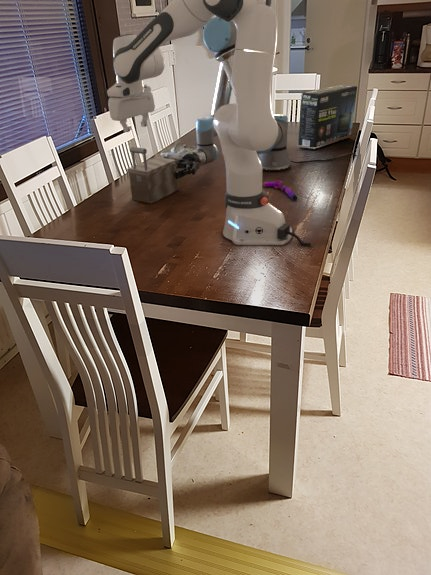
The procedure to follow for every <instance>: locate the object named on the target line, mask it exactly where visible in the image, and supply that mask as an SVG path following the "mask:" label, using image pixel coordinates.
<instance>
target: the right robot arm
mask: <svg viewBox="0 0 431 575" xmlns="http://www.w3.org/2000/svg"><path fill="white" fill-rule="evenodd" d="M236 37H237V29H236V26H235V24H234V23H233V22H232V21H229V22H226V21H225V20H223V19H221V18H219V17H217V16H215V17H214V16H213V17H212V18H211V20H210V21H209V22H208V23H207V24H206V25H205V26H204V27H203V31H202V39H203V40H202V41H203V43H204V46H205V47H206V48H207V50H209V51H211V52H212V53H213V56H214V59H215V61H217V62H219V64H218V71H217V76H216V80H215V81H216V82H215V88H214V93H213V99H212V105H211V110H210V116H209V117H207V116H206V117H199V118H197V119H196V120H195V135H196V148H197V149H196V150H193V151H191V152H189V153H186V154H184V155H183V157H182V159H179V160H176V158H174V159H172V160H176V179H177V180H179V179H181V178H183V177H185V176H188V175H189V176H190V175H192V176H194V175H195V176H196V173H197V171H198V170H199V169H200V167H202V166H205V165H207V164H209V163H212V162H214V161H215V160H216V159H218V157H219V150H218V147H217V146H216V145H215V142H214V138H216V137H217V136H218V134H217V132H216V130H215V128H214V125H213V119H214V115H215V113H216V111H217V110H218V109H219V108H220V107H221V106H223V105H227V104H231V103H230V102H231V99H232V98H231V97H232V93H234V96H235V97H236V95H235V90H234V87H233V85H232V82H231V75H232V67H233V59H234V52H235V50H238V49H235V44H236ZM273 116H274V118H275V120H276V122H277V125H278V136H277V139H276V141H275V143H274V144H273V145H272V146H271V147H270V148H269V149H267V150H264V151H256V152H257V155H258V158H259V160H260V161H261V164H262V168H263V169H262V172H270V173H271V172H272V173H275V172H276V173H277V172H284V171H287V170H289V169H290V168H291V163H290V162H293V161H294V160H290V158H289V154H288V150H287V147H288V130H289V129H288V128H289V126H288V125H289V118H288V116H287V115H286V114H280V113H279V114H276V113H275V114H274V113H273ZM351 153H352V154H348V155H351V156H354V157H357V156H358V155H357V154H356V153H354V152H351ZM348 155H347V156H348ZM332 158H333V159H332ZM332 158H325V159H326V160H321V159H310V160H299V161H300V162H293V163H292V164H305V163H315V162H317V163H318V162H329V161H331V162H332V161H335V160H336V159H337V158H336V156H335V158H334V157H332ZM289 165H290V166H289ZM288 166H289V167H288ZM286 167H288V168H286ZM283 168H285V169H283ZM177 169H180V170H177ZM266 169H267V170H266ZM278 169H280V170H278Z"/></svg>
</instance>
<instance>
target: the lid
mask: <svg viewBox="0 0 431 575" xmlns="http://www.w3.org/2000/svg"><path fill="white" fill-rule="evenodd" d="M129 152H130V153H131V158H132V159H131V160H132V166H131V167H128V168H126V172H127V173H129V172H130V173H136V174H141V175H149V174H152V173H154V172H156V171H158V170H161V169H163V168H165V167H168V166H170V165H172V164H175V163H176V160H172V159H165V158H162V157H158V156H156V157H154V158H151V159H148V160H147V153H148V151H147V149H146V148H144V147H136V146H130V147H129ZM135 154H141V155H142V157H143V162H141V163H138V164H136V157H135ZM176 164H177V163H176Z"/></svg>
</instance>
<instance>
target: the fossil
mask: <svg viewBox="0 0 431 575" xmlns="http://www.w3.org/2000/svg"><path fill="white" fill-rule="evenodd" d="M196 149H197V146H195V145H188V146H187V145H186V143H184V142H183V143H181V142H176V143H175V145H174V146H173V147H172V148H171V149H170V150H168V149H165V150H162V151H161V152H160V156H161V158H165V159H174V158H176V160H179V159H182V157H183V155H184V154H186V153H189V152H191V151H193V150H196Z"/></svg>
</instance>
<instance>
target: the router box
mask: <svg viewBox="0 0 431 575" xmlns="http://www.w3.org/2000/svg"><path fill="white" fill-rule="evenodd" d="M357 93H358V86H356V85H350V84H339V85H338V84H337V85H334V86H328V87H324V88H318V89H314V90H309V91H304V92H301V93H300V109H299V110H300V111H299V124H298V137H297V146H298V145H302V146H307V147H317V146H320V145H323V144H325V143H328V142H331V141H333V140H336V139H338V138H341V137H344V136H347V135H351V136H352V133H353V132H352V131H353V125H354V115H355V109H356V99H357ZM311 151H313V150H312V149H311Z"/></svg>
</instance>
